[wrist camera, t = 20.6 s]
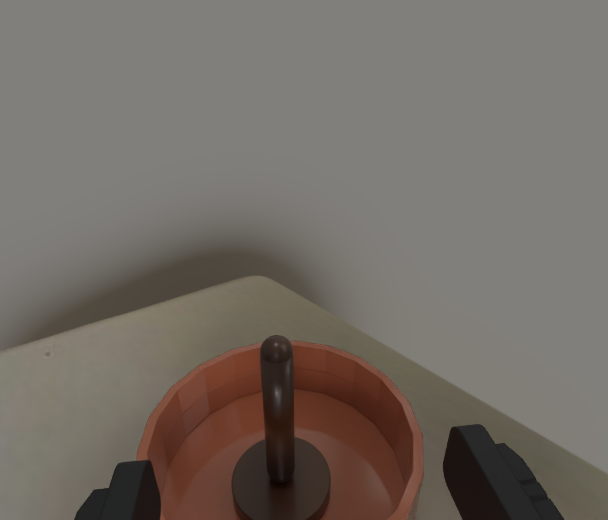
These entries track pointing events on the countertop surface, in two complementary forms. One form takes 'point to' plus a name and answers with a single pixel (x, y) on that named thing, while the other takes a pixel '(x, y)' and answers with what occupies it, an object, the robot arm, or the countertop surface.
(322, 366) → the bowl
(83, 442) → the countertop surface
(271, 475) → the paper towel holder
